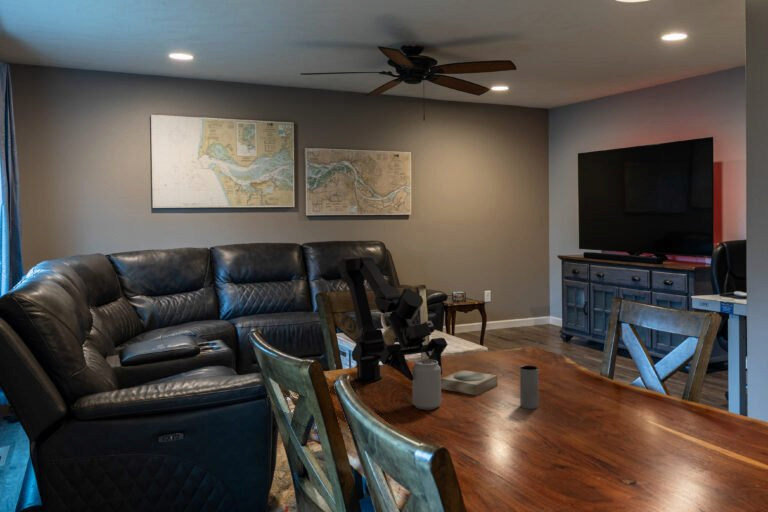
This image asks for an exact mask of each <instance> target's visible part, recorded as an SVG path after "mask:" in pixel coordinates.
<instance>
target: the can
mask: <svg viewBox="0 0 768 512" xmlns="http://www.w3.org/2000/svg"><path fill="white" fill-rule="evenodd" d="M411 369H412V370H411V373H412V376H413V380H412V382H411V383H412V387H411V388H412V404H413V405H414V406H415V408H417V409H420V410H423V411H424V410H426V411H429V410H435V409H437V408H439V406H441V404H442V389H441V378H442V375H441V367H440V366H439V365H438V361H436V360H429V359H426V358H425V359H418V360H415V361H414V365H413V366H412V368H411Z"/></svg>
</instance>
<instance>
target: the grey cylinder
mask: <svg viewBox="0 0 768 512" xmlns="http://www.w3.org/2000/svg"><path fill="white" fill-rule="evenodd" d="M519 372H520V373H519V374H520V375H519V378H520V383H519V384H520V385H519V387H520V388H519V389H520V390H519V395H520V396H519V397H520V398H519V399H520V403H519V404H520V407H521V408H522V409H528V410H533V409H537V408H538V407H539V367H538V366H535V365H522V366H520V368H519Z"/></svg>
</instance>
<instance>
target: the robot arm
mask: <svg viewBox="0 0 768 512" xmlns="http://www.w3.org/2000/svg"><path fill="white" fill-rule="evenodd" d="M337 269H338V272H339V273H340V276H341V279H342V281H343V282H344V283H345V284H346V285H347V286H348V288H349V291H350V292H349V293H350V298H351V301H352V305H353V311H354V315H355V318H356V319H355V320H356V324H357V329H358V331H357V334H356V337H355V346H354V348H353V350H352V352H351V359H352V360H353V361H354V362H356V370H357V371H356V373H357V374H356V375H357V376H355V377H354V378H353V380H354V381H359V382H364V383H373V382H375V381H379V380H381V379H383V376H381V365H380V362H381V364H382V365H383V366H384V365H385V366H386V365H387V367H391V368H393V369H394V370H395V371H397V372H399V373H400V374H401V375H403V376H404V377H405V378H406V379H408V380H409V381H412V380H413V376H412V370H411V369H410V367H409V365H408V363H407V361H406V357H405V356H409V355H418V354H423V353H425V354H426V356H427V357H428V359H429V360H436V361H438V365H439V366H440V367H441V376H442V375H443V366H442V365H443V364H442V354H443V353H444V351H445V349H446V348H447V347H448V342H447V341H446V339H445V337H436V338H435V337H434V338H431V339H430V341H429V342H428V343H427V344H423V343H425V341H426V340H427V339H426V338H427V336H431V335H432V333H434V332H435V330H436V328H435V325H434V324H433V322H432V320H426V321H425V322H423V323H418V324H417V323H416V324H413V322H412V319H414V318H415V317H416V315H417V314H418V311H419V310H420V309H421V307H422V305H423V304H424V298H423V296H422V295H421V294H419V293H418V292H416V291H414V290H412V288H411V287H406V288H404V289H403V290H402V292H400V290H399V289H398V288H397V287H395V286H392V285H390V283H388V281H387V279H386V278H385V277H384V275H383V274H382V272H381V271H380V269H379V267H378V266H377V264H376V263H375V259H374V257H372V256H370V255H368V256H357V257H355V256H354V257H342V258H341V259H340V262H338V265H337ZM365 281H366V282H367V284H368V286H369V287H370V288H371V290H372V291H373V293H374V297H375V298H374V303H375V306H376V308H377V310H378V311H379V313H381V314H389V315H388V316H387V320H386V322H385V325H386V327H388V328H389V327H390V328H391V329H392V332H393V333H394V336H395V337H394V343H392V344H386V343H385V341H386V340H385V338H384V335H383V331H382V329H381V328H377V327H376V326H375V324H374V320H373V316H372V311H371V307H370V303H369V298H368V295H367V290H366V286H365Z"/></svg>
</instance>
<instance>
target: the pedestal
mask: <svg viewBox="0 0 768 512" xmlns="http://www.w3.org/2000/svg"><path fill="white" fill-rule="evenodd" d="M495 387H498V374H497V375H495V374H489V373H485V372H484V373H483V372H477V371H471V370H465V369H460V370H457V371H456V372H453V373H451V374H448V375H446V376H444V377H441V390H447V391H450V392H451V391H453V392H457V393H462V394H466V395H468V394H469V395H473V396H478V395H481V394H483V393H485V392H487V391H489V390H491V389H493V388H495Z"/></svg>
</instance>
